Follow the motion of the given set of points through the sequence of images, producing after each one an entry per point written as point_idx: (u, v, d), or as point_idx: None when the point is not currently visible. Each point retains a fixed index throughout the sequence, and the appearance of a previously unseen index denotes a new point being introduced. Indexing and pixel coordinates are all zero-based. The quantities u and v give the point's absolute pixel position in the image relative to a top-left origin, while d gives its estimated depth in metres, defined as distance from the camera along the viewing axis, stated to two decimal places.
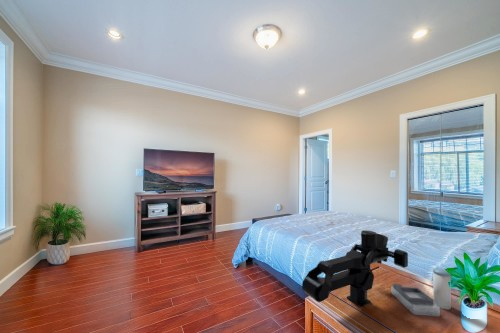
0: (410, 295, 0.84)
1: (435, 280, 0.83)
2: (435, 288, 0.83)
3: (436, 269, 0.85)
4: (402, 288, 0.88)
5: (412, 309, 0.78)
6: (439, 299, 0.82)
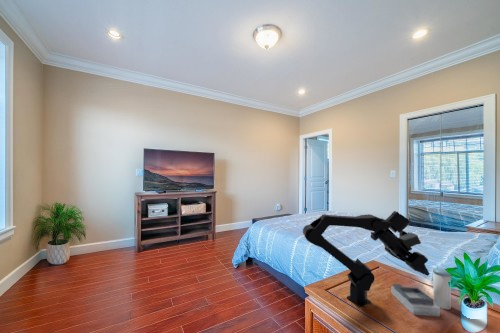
0: (410, 295, 0.84)
1: (435, 280, 0.83)
2: (435, 288, 0.83)
3: (436, 269, 0.85)
4: (402, 288, 0.88)
5: (412, 309, 0.78)
6: (439, 299, 0.82)
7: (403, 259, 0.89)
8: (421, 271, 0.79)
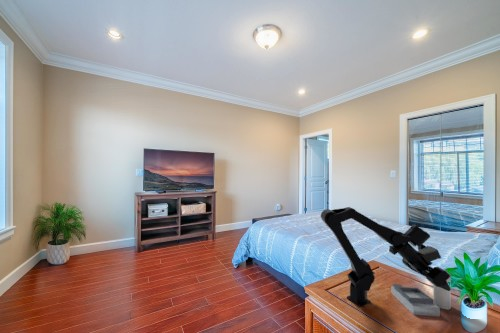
0: (410, 295, 0.84)
1: None
2: (435, 288, 0.83)
3: None
4: (402, 288, 0.88)
5: (412, 309, 0.78)
6: (439, 299, 0.82)
7: (422, 272, 0.88)
8: (442, 286, 0.78)
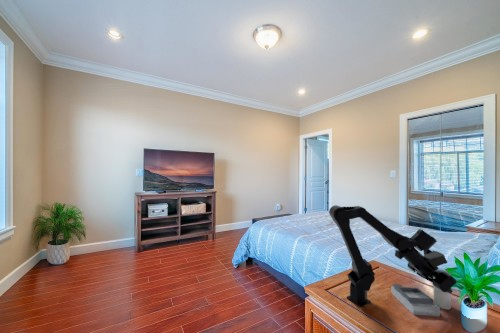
0: (410, 295, 0.84)
1: None
2: (435, 288, 0.83)
3: None
4: (402, 288, 0.88)
5: (412, 309, 0.78)
6: (439, 299, 0.82)
7: (431, 280, 0.86)
8: None
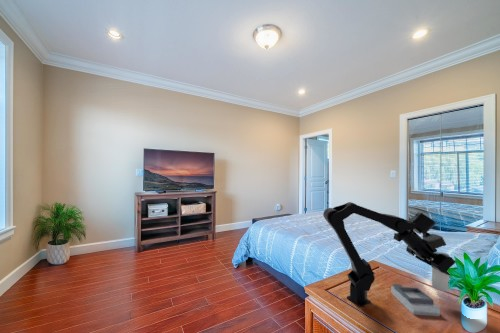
0: (410, 295, 0.84)
1: None
2: (433, 270, 0.84)
3: (435, 252, 0.85)
4: (402, 288, 0.88)
5: (412, 309, 0.78)
6: (437, 281, 0.82)
7: (429, 263, 0.86)
8: None
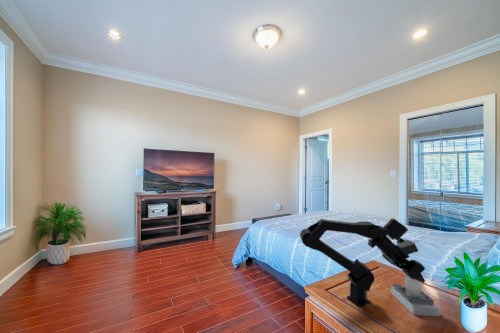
0: None
1: None
2: (406, 279, 0.84)
3: None
4: (402, 288, 0.88)
5: (412, 309, 0.78)
6: (410, 289, 0.83)
7: (402, 267, 0.88)
8: (417, 278, 0.79)
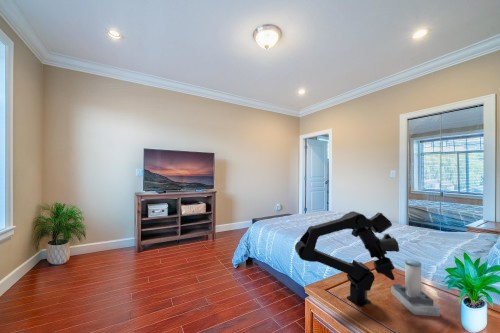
0: None
1: (406, 271, 0.84)
2: (406, 279, 0.84)
3: (408, 260, 0.86)
4: (402, 288, 0.88)
5: (412, 309, 0.78)
6: (410, 289, 0.83)
7: None
8: (386, 275, 0.82)
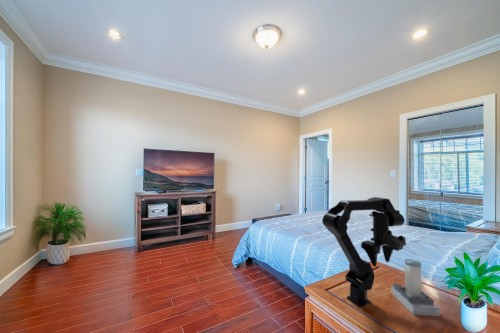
0: None
1: (406, 271, 0.84)
2: (406, 279, 0.84)
3: (408, 260, 0.86)
4: (402, 288, 0.88)
5: (412, 309, 0.78)
6: (410, 289, 0.83)
7: (384, 252, 0.93)
8: (369, 257, 0.88)
